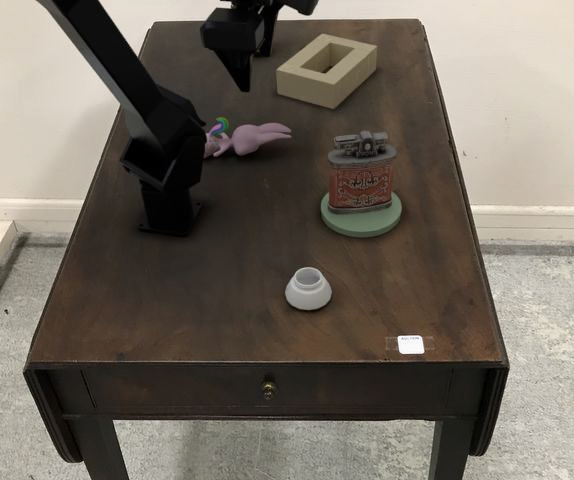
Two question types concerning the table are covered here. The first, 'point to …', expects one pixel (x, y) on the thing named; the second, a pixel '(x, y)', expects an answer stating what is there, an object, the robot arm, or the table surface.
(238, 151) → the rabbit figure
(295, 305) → the white jar
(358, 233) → the plate
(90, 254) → the table surface
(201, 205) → the robot arm
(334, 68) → the hollow beige frame
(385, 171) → the lighter
